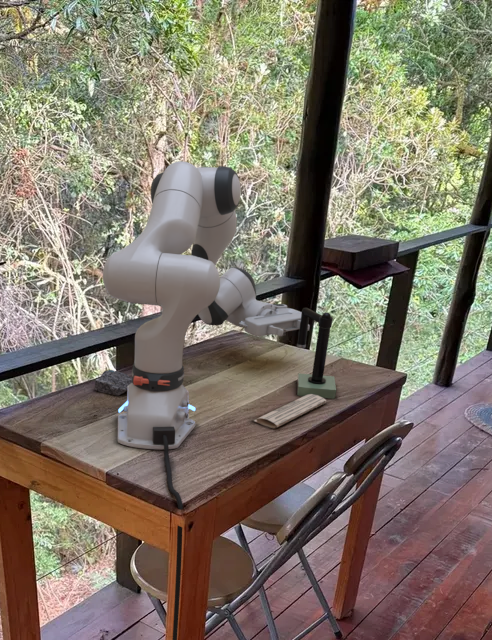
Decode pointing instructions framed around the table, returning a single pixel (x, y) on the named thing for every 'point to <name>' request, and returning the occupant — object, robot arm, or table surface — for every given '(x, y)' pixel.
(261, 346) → the table surface
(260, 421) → the beige flat ridged bar
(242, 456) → the table surface
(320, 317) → the spout
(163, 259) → the robot arm
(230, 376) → the table surface
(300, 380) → the block
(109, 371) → the rock
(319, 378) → the tap pillar
